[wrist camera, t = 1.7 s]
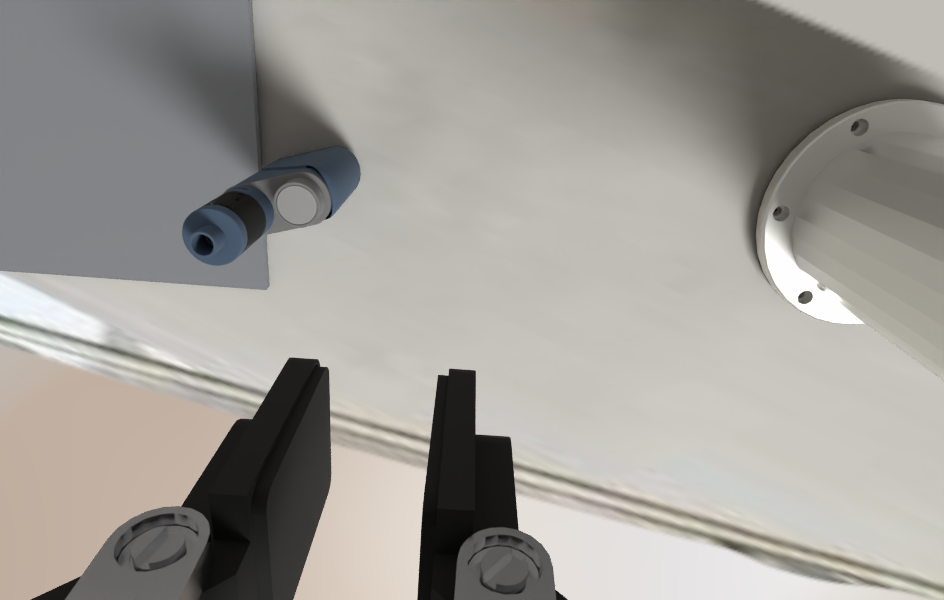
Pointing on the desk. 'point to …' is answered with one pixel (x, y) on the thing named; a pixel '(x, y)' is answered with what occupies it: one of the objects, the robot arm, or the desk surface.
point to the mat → (124, 135)
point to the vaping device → (271, 203)
